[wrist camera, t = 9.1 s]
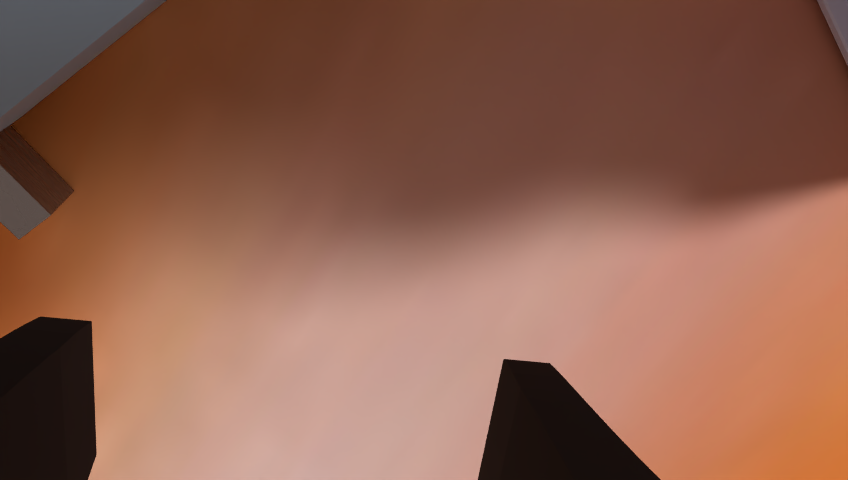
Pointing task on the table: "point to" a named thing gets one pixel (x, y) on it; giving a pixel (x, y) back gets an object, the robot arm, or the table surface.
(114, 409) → the table surface
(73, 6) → the sliding jaw
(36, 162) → the guide rail
